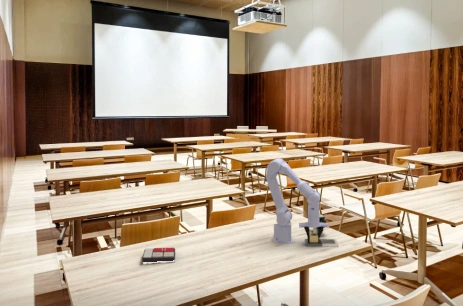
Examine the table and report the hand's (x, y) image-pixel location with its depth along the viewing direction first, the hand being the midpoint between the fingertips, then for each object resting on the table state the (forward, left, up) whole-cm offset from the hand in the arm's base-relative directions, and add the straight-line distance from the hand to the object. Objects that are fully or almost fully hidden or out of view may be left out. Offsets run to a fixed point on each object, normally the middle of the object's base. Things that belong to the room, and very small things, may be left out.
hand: (313, 240), depth 192 cm
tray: (+4, 0, -2) cm, 4 cm away
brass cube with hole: (0, 0, -2) cm, 2 cm away
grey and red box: (-76, -19, -3) cm, 78 cm away
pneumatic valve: (+5, +15, -2) cm, 16 cm away
